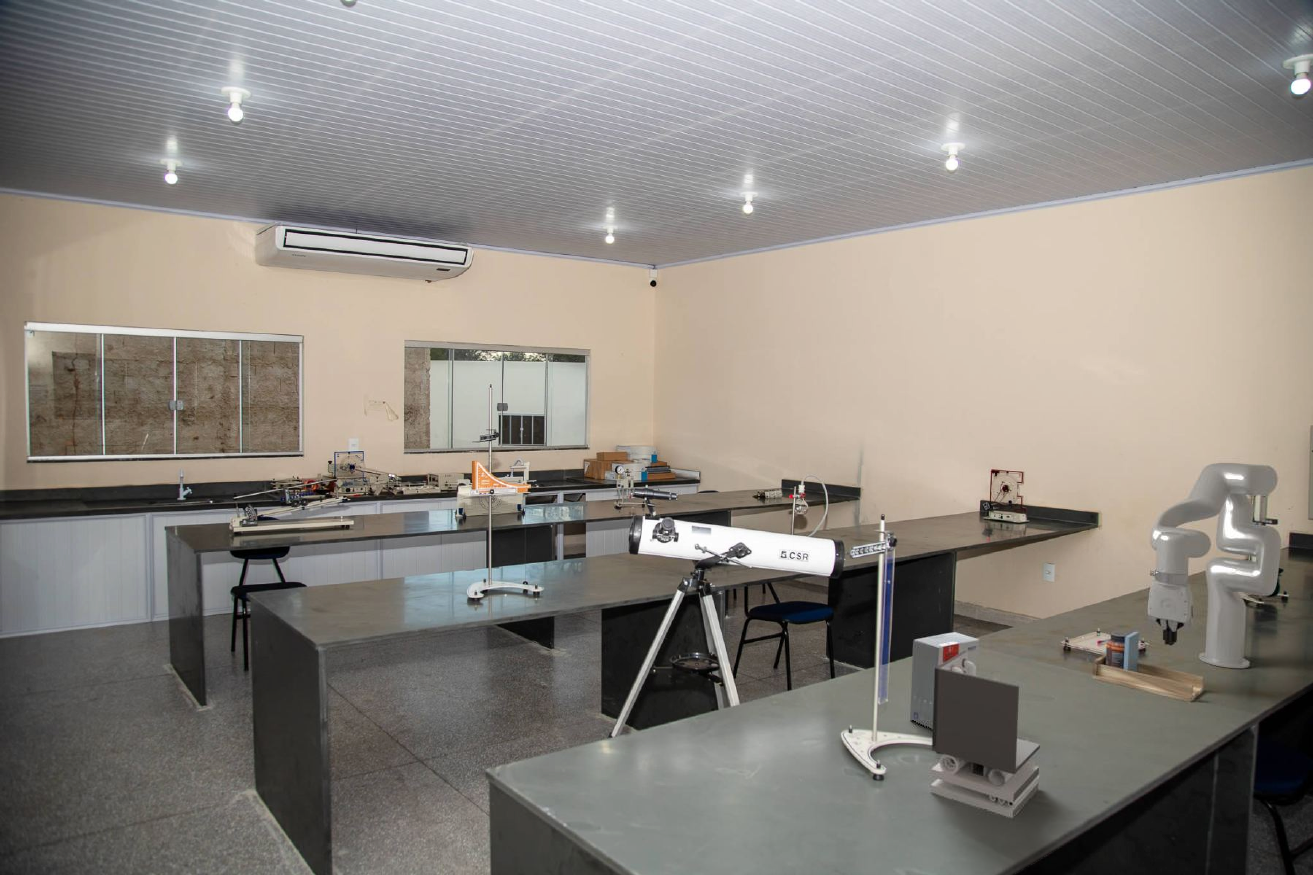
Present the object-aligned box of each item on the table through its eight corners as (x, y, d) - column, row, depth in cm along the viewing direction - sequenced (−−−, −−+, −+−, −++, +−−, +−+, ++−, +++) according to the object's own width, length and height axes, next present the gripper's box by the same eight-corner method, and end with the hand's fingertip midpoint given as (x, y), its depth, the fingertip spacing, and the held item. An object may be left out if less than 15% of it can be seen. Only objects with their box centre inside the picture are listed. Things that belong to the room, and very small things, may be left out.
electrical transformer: (930, 792, 166) (934, 668, 165) (966, 761, 181) (970, 646, 180) (1012, 819, 156) (1017, 687, 155) (1043, 784, 171) (1048, 662, 169)
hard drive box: (934, 731, 197) (936, 647, 196) (908, 720, 203) (910, 639, 202) (976, 718, 205) (979, 638, 204) (950, 708, 212) (953, 630, 211)
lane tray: (1108, 668, 245) (1109, 651, 245) (1204, 690, 228) (1205, 672, 227) (1092, 678, 236) (1093, 660, 236) (1190, 701, 219) (1191, 683, 218)
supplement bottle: (1133, 677, 234) (1134, 637, 234) (1110, 676, 235) (1112, 636, 235) (1123, 670, 240) (1125, 631, 240) (1101, 669, 241) (1103, 630, 240)
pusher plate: (1133, 672, 238) (1135, 631, 238) (1137, 673, 237) (1139, 632, 237) (1123, 678, 233) (1125, 636, 232) (1127, 679, 232) (1129, 637, 231)
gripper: (1136, 575, 232) (1135, 640, 233) (1199, 585, 221) (1197, 653, 222) (1145, 571, 237) (1144, 635, 238) (1207, 580, 226) (1205, 646, 227)
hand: (1169, 643), depth 230 cm, fingers closed
